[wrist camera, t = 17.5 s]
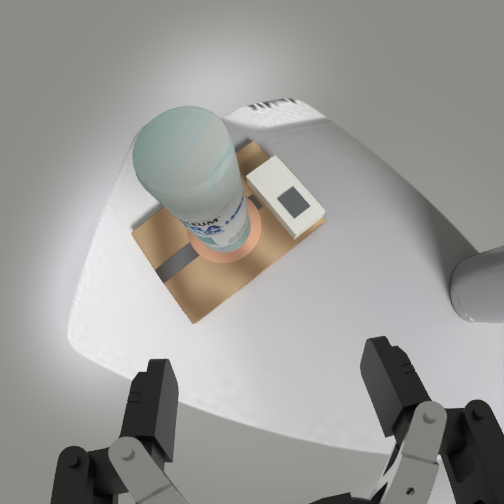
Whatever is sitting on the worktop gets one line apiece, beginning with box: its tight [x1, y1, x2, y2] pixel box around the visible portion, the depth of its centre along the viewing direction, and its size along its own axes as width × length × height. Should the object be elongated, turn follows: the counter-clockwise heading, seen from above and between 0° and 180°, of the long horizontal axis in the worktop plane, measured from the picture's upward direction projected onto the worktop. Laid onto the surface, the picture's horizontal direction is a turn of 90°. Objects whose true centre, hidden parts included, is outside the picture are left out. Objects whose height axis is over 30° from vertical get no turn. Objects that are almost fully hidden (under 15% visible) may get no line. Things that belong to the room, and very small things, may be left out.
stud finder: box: [246, 155, 325, 240], centre depth 37 cm, size 9×4×3 cm, turn 38°
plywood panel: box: [131, 141, 325, 324], centre depth 38 cm, size 20×14×2 cm
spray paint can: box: [133, 106, 251, 253], centre depth 28 cm, size 6×6×20 cm
